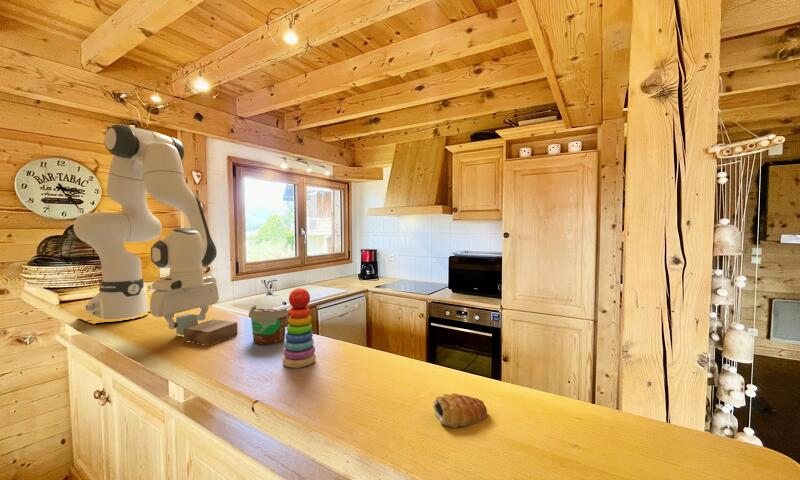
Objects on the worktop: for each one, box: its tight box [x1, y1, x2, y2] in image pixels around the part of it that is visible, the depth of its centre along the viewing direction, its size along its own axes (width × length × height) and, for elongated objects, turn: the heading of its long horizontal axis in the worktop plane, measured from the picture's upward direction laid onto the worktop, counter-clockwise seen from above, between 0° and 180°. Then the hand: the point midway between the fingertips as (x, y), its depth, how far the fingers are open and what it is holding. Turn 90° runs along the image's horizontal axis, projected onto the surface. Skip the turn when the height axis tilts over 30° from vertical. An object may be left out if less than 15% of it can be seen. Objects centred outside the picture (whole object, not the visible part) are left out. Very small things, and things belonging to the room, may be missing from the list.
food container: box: [248, 305, 289, 347], centre depth 93 cm, size 12×6×10 cm, turn 73°
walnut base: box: [183, 318, 238, 347], centre depth 97 cm, size 10×10×4 cm
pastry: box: [433, 392, 488, 428], centre depth 57 cm, size 9×7×4 cm
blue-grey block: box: [175, 313, 199, 335], centre depth 100 cm, size 4×4×6 cm
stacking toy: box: [282, 287, 317, 369], centre depth 80 cm, size 8×8×19 cm
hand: (188, 323), depth 100 cm, fingers open, 8 cm apart
